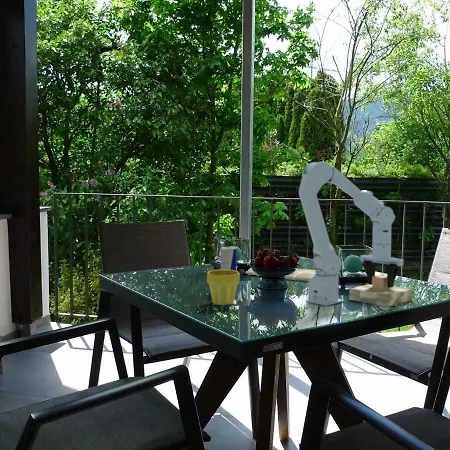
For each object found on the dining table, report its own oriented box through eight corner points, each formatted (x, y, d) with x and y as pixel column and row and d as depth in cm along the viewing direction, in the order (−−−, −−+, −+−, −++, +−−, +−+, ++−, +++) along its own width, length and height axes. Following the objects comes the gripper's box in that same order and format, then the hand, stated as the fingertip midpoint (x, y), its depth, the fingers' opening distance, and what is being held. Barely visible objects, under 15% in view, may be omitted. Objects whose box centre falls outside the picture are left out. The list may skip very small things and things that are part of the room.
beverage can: (235, 291, 193) (235, 248, 192) (219, 291, 194) (218, 248, 193) (237, 288, 198) (237, 246, 197) (222, 288, 200) (222, 246, 198)
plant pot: (245, 304, 174) (245, 273, 173) (216, 308, 169) (216, 276, 168) (230, 298, 183) (229, 268, 182) (201, 301, 178) (201, 271, 177)
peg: (382, 300, 177) (383, 278, 176) (371, 298, 180) (372, 276, 179) (389, 298, 179) (390, 276, 179) (378, 296, 182) (379, 275, 182)
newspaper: (229, 274, 230) (229, 268, 229) (253, 268, 246) (253, 262, 246) (312, 284, 209) (312, 276, 209) (332, 276, 225) (332, 269, 225)
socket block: (387, 306, 170) (388, 295, 169) (349, 299, 180) (349, 288, 180) (411, 299, 179) (412, 289, 179) (374, 293, 189) (374, 283, 189)
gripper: (409, 244, 175) (407, 287, 176) (369, 240, 186) (368, 281, 187) (396, 246, 171) (395, 290, 172) (356, 242, 181) (356, 283, 183)
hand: (380, 285), depth 179 cm, fingers open, 6 cm apart
